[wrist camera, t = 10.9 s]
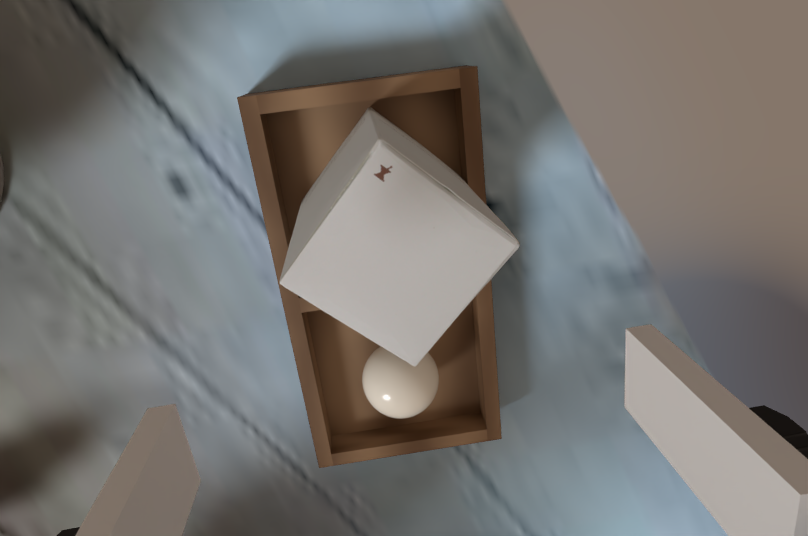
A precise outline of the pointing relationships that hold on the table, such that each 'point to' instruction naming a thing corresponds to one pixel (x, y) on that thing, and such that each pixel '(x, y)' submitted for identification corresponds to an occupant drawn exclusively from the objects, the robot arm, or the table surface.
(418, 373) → the white ball
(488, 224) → the supplement box
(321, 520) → the table surface
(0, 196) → the mate gourd
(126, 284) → the table surface
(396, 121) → the caddy
